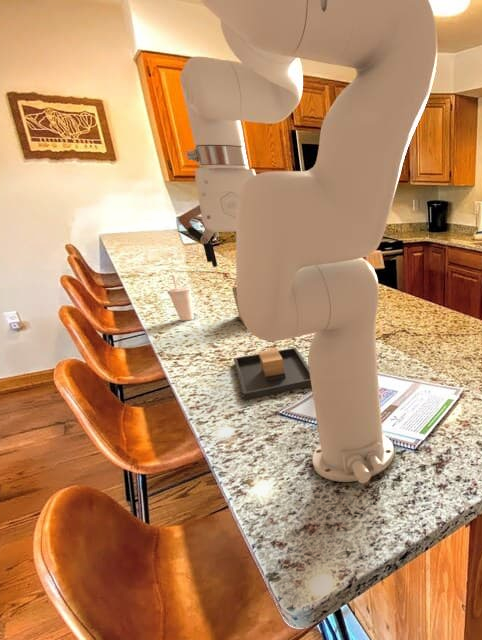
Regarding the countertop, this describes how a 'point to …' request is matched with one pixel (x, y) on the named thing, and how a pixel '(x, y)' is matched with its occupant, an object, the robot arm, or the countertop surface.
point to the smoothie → (182, 301)
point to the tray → (259, 387)
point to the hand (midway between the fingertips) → (244, 263)
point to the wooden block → (272, 365)
